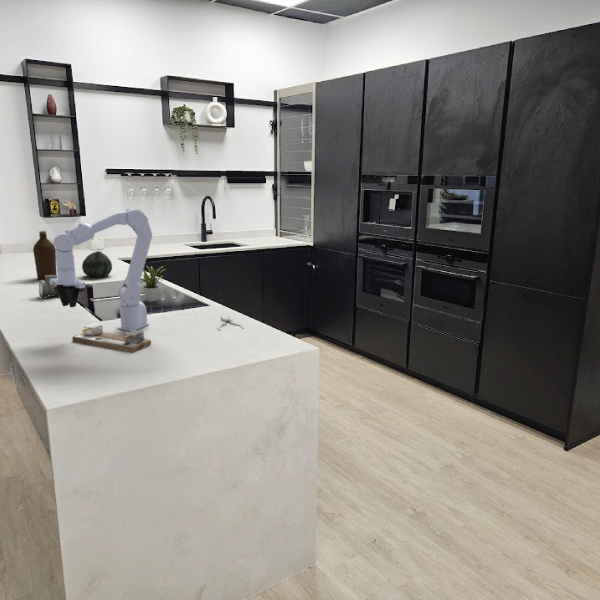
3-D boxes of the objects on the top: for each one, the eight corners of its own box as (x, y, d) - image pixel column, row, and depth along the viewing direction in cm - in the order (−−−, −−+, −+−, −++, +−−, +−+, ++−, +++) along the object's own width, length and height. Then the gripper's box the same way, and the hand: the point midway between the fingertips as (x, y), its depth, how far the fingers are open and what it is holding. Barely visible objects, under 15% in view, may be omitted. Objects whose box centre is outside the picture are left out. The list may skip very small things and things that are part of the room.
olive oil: (60, 278, 279) (55, 231, 273) (38, 280, 272) (33, 232, 266) (55, 275, 287) (51, 229, 281) (34, 277, 281) (29, 230, 275)
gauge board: (92, 333, 188) (91, 321, 187) (150, 344, 178) (150, 331, 177) (72, 341, 180) (71, 328, 179) (132, 352, 170) (132, 339, 169)
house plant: (175, 297, 243) (173, 262, 240) (165, 304, 230) (163, 267, 226) (145, 295, 245) (143, 261, 241) (133, 303, 231) (131, 266, 228)
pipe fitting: (41, 299, 234) (41, 276, 233) (37, 296, 240) (38, 274, 239) (69, 298, 241) (70, 276, 240) (65, 296, 247) (66, 275, 246)
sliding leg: (94, 331, 186) (93, 323, 185) (102, 332, 184) (102, 324, 184) (78, 336, 179) (78, 328, 179) (87, 338, 178) (87, 329, 177)
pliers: (218, 327, 194) (212, 316, 208) (218, 331, 195) (212, 320, 209) (244, 325, 197) (237, 315, 211) (244, 329, 198) (237, 318, 211)
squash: (88, 263, 294) (82, 246, 282) (115, 264, 296) (111, 247, 283) (83, 283, 286) (77, 266, 274) (111, 284, 288) (106, 268, 275)
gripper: (40, 268, 180) (44, 306, 184) (72, 272, 175) (76, 311, 178) (57, 265, 187) (61, 301, 190) (88, 268, 181) (91, 306, 184)
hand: (69, 306), depth 184 cm, fingers open, 3 cm apart
